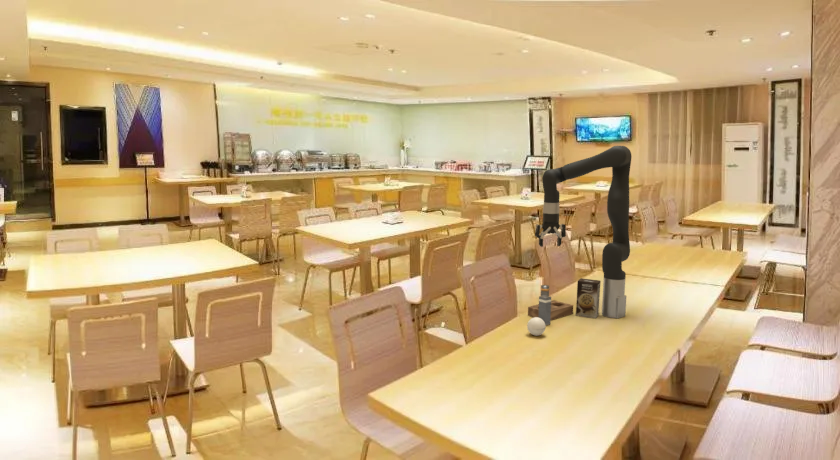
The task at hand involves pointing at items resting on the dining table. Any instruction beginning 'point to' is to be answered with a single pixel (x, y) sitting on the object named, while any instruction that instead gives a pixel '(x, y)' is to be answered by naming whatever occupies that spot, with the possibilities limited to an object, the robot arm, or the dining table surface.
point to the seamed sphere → (536, 326)
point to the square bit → (545, 309)
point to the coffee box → (588, 298)
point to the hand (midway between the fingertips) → (549, 246)
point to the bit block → (553, 310)
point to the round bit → (545, 290)
